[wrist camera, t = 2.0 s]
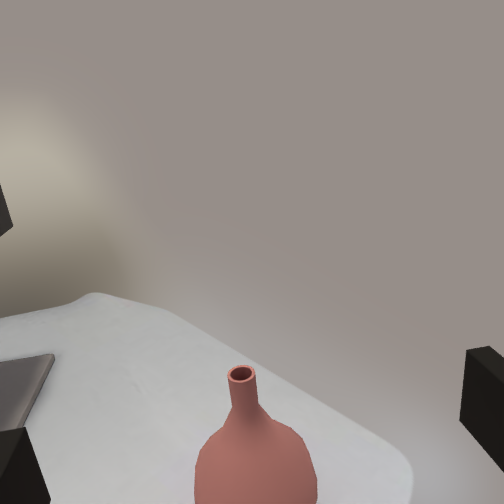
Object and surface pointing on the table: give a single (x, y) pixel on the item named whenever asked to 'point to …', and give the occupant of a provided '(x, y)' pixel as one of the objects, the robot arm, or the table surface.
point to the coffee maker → (19, 368)
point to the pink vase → (253, 455)
